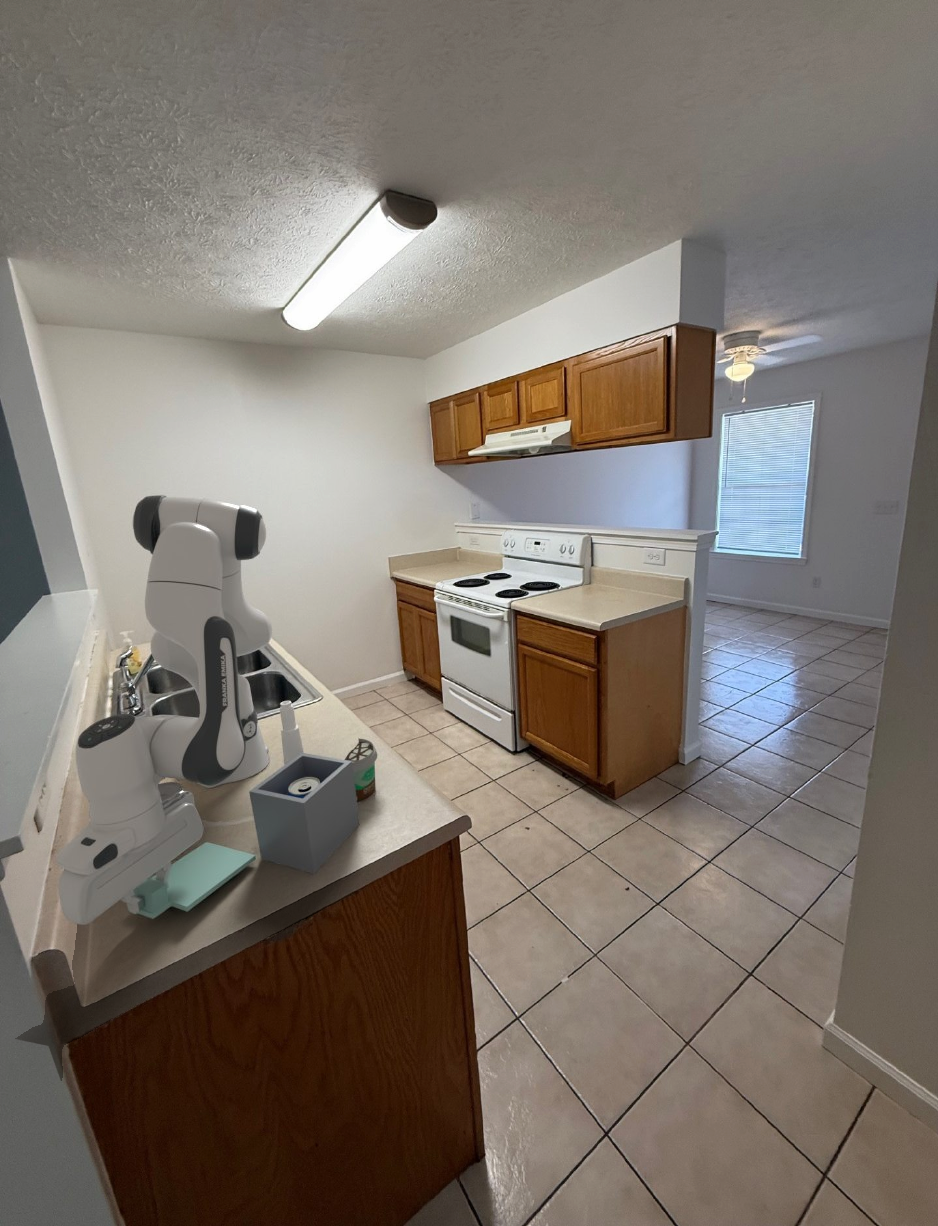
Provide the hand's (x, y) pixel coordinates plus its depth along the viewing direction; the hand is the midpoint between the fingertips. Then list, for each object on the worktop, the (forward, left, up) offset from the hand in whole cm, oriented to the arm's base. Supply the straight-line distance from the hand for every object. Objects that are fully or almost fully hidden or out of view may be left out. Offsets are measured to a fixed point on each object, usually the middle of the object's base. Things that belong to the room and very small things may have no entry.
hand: (149, 899), depth 79 cm
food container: (+13, +40, -4) cm, 43 cm away
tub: (+12, +23, -4) cm, 27 cm away
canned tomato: (-15, +14, -4) cm, 21 cm away
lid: (0, +7, -2) cm, 7 cm away
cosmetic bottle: (-1, +36, -4) cm, 36 cm away
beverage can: (+12, +23, -4) cm, 27 cm away
